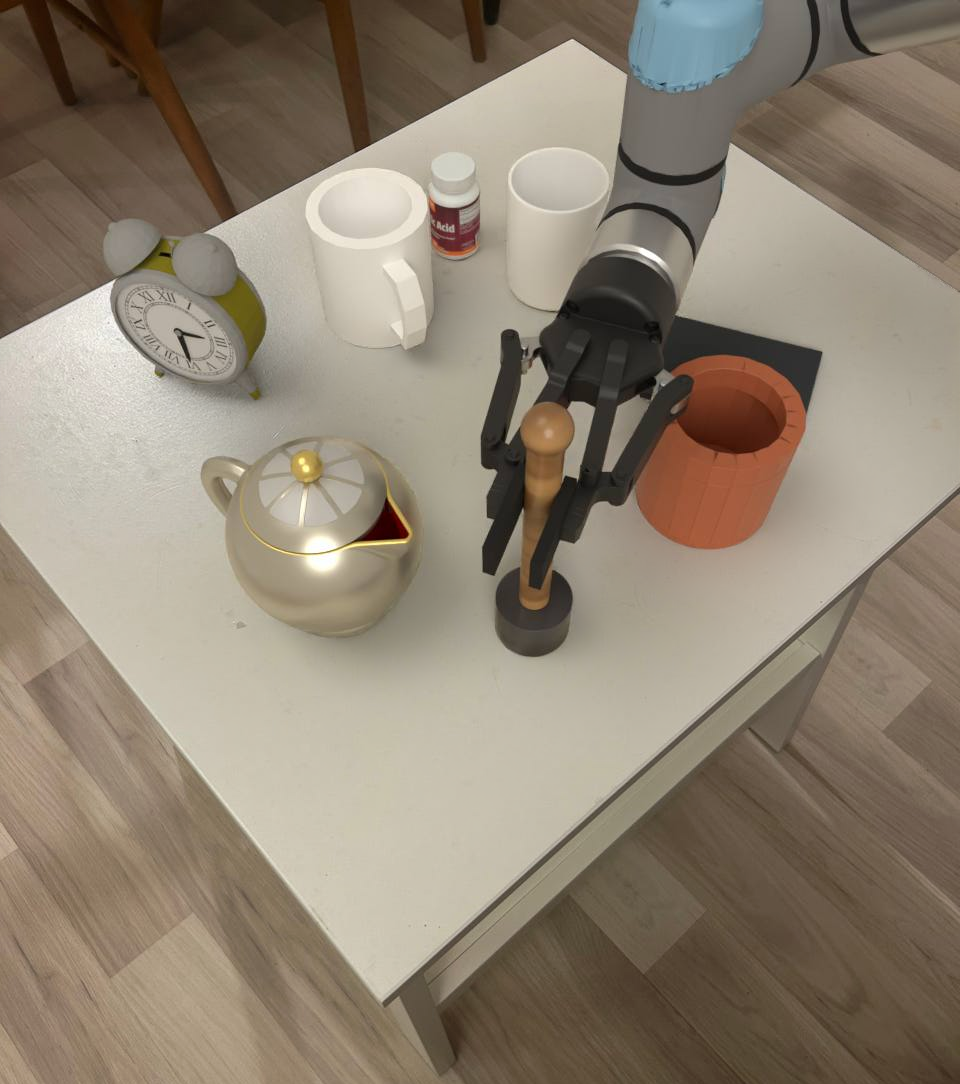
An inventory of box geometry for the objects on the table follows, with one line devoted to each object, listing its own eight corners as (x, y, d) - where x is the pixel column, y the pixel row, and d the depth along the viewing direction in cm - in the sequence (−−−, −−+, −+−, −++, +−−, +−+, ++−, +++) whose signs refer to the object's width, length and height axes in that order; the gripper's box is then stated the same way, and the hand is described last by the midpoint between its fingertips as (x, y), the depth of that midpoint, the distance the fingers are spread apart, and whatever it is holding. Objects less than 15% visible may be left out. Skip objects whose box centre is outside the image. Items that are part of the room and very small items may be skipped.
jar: (795, 520, 75) (836, 437, 66) (678, 568, 73) (704, 490, 64) (723, 426, 79) (752, 337, 70) (612, 469, 77) (628, 383, 68)
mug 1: (473, 343, 84) (471, 243, 75) (374, 388, 82) (359, 291, 72) (401, 256, 90) (391, 153, 80) (306, 295, 87) (284, 194, 78)
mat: (821, 356, 83) (823, 351, 82) (799, 438, 79) (801, 433, 78) (668, 318, 85) (669, 313, 85) (639, 396, 81) (640, 391, 80)
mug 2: (602, 341, 84) (616, 240, 75) (488, 292, 87) (488, 190, 78) (645, 283, 87) (663, 180, 78) (534, 239, 91) (540, 134, 81)
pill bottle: (421, 244, 90) (415, 165, 83) (456, 221, 92) (453, 141, 84) (455, 268, 89) (451, 189, 81) (490, 244, 90) (490, 165, 83)
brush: (581, 639, 70) (620, 430, 49) (514, 668, 69) (524, 466, 48) (548, 582, 72) (571, 359, 51) (482, 608, 71) (479, 392, 50)
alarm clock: (141, 385, 82) (73, 241, 69) (175, 331, 85) (116, 183, 72) (262, 414, 80) (216, 272, 67) (292, 358, 83) (254, 212, 70)
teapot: (468, 565, 73) (462, 424, 58) (377, 705, 67) (346, 587, 53) (279, 478, 77) (230, 327, 63) (178, 603, 72) (99, 468, 57)
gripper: (721, 365, 66) (630, 639, 56) (518, 313, 69) (396, 566, 58) (746, 279, 60) (648, 572, 49) (521, 226, 62) (384, 493, 52)
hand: (512, 568), depth 54 cm, fingers closed on brush, 2 cm apart
